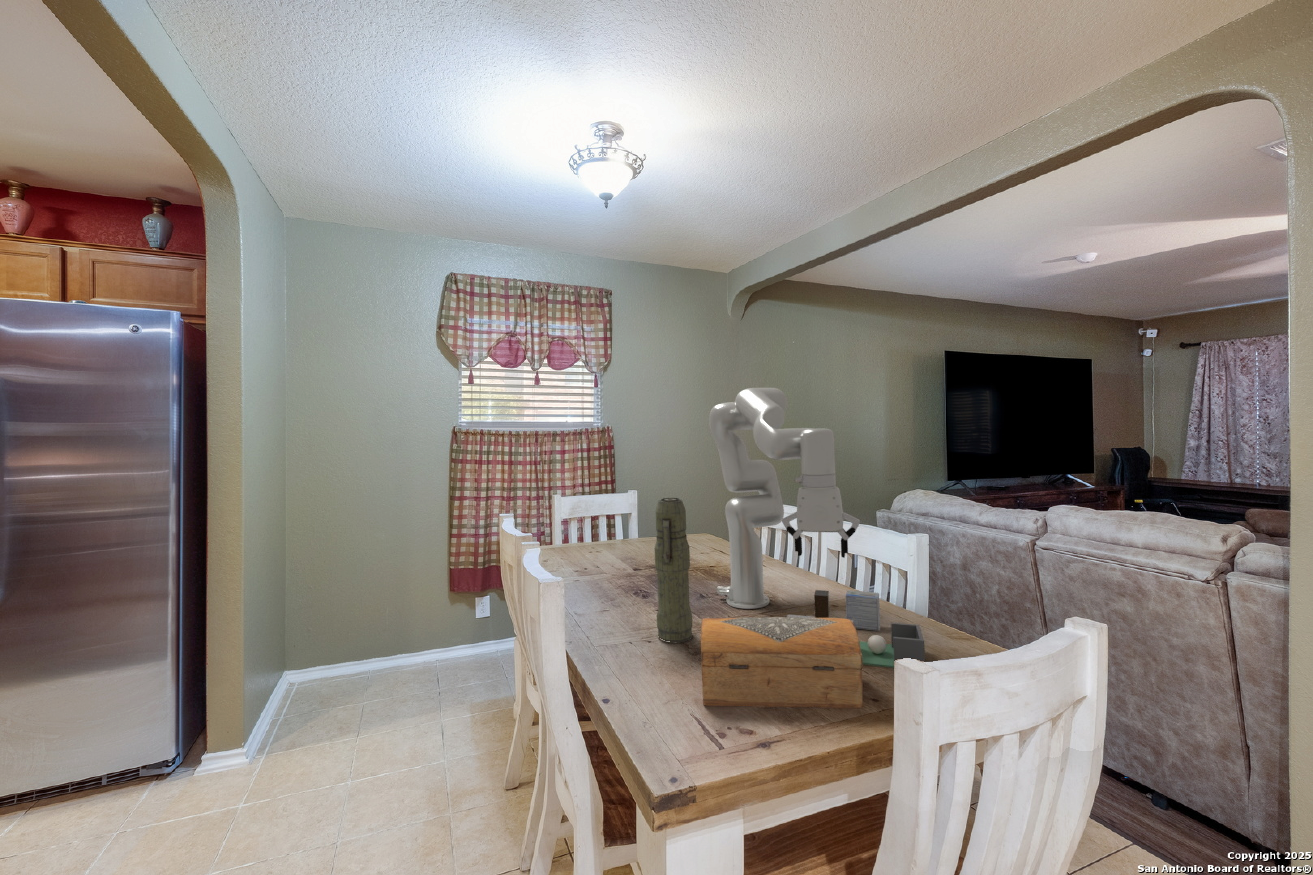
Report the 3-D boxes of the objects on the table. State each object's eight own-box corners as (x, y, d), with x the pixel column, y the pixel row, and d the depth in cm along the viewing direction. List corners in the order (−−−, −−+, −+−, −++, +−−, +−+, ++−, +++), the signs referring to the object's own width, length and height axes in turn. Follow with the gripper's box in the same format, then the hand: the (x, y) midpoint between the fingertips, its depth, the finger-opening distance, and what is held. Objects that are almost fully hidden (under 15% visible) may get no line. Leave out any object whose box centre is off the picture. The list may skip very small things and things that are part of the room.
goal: (894, 665, 119) (893, 638, 119) (891, 647, 128) (890, 622, 128) (925, 668, 117) (924, 640, 117) (920, 650, 126) (919, 624, 126)
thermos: (694, 627, 145) (689, 495, 144) (690, 646, 134) (685, 502, 133) (661, 627, 147) (656, 496, 146) (654, 645, 135) (648, 502, 134)
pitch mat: (850, 663, 121) (850, 661, 121) (850, 642, 133) (850, 640, 133) (920, 670, 117) (920, 668, 117) (914, 648, 128) (914, 646, 128)
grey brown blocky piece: (787, 645, 130) (785, 593, 129) (789, 638, 134) (787, 587, 133) (854, 652, 125) (852, 598, 124) (854, 644, 129) (852, 592, 128)
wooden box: (845, 671, 118) (843, 606, 118) (865, 711, 102) (863, 637, 101) (704, 668, 122) (702, 606, 121) (702, 707, 105) (699, 635, 105)
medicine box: (880, 625, 142) (879, 592, 142) (879, 631, 138) (878, 597, 138) (848, 622, 146) (847, 589, 145) (846, 628, 142) (845, 594, 141)
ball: (868, 655, 124) (867, 638, 124) (867, 648, 128) (867, 631, 128) (887, 657, 123) (886, 639, 122) (886, 650, 126) (885, 633, 126)
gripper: (778, 483, 127) (781, 557, 128) (858, 483, 121) (861, 560, 122) (782, 480, 134) (785, 550, 135) (858, 479, 129) (860, 553, 129)
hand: (821, 555), depth 128 cm, fingers open, 9 cm apart
